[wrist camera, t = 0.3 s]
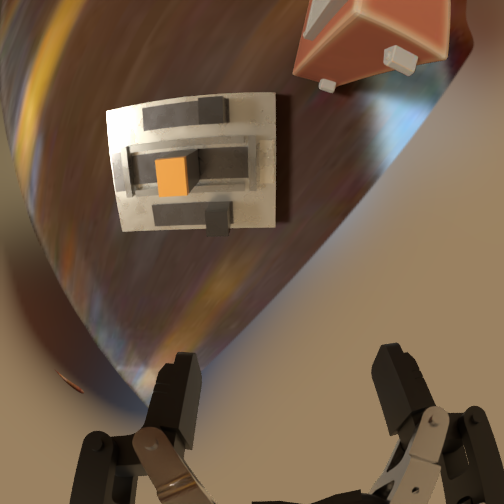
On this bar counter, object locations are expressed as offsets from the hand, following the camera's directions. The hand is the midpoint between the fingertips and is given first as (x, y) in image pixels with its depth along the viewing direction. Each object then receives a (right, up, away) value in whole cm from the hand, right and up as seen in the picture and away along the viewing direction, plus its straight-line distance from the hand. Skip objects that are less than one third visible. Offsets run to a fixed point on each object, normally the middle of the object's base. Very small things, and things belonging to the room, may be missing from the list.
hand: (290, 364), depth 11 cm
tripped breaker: (-9, +14, +18) cm, 25 cm away
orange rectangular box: (+7, +30, +13) cm, 34 cm away
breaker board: (-9, +16, +21) cm, 27 cm away
